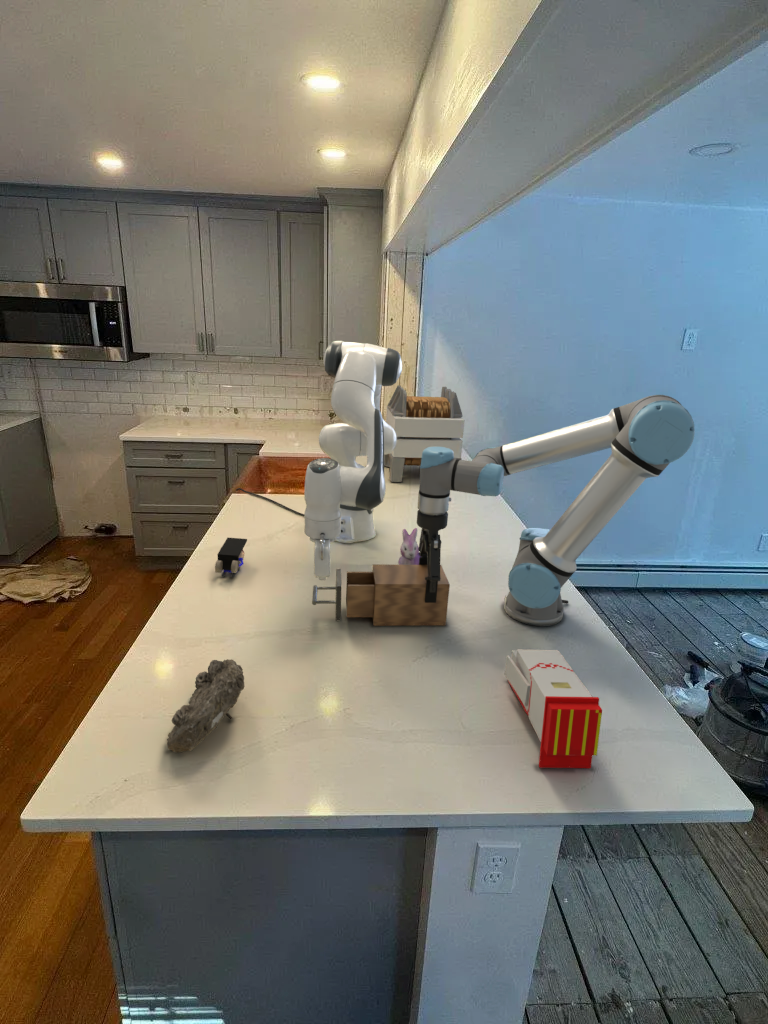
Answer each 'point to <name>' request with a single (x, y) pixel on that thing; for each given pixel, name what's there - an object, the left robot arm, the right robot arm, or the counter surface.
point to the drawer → (352, 594)
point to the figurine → (409, 549)
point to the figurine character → (230, 556)
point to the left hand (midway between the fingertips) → (322, 577)
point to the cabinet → (407, 596)
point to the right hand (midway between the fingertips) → (426, 590)
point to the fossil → (206, 705)
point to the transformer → (422, 428)
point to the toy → (556, 707)
